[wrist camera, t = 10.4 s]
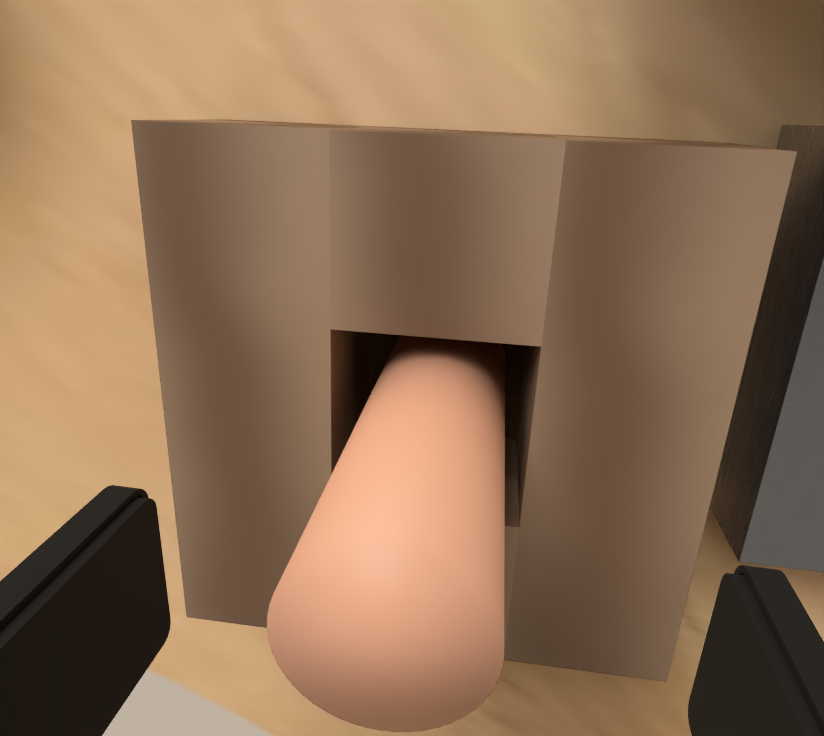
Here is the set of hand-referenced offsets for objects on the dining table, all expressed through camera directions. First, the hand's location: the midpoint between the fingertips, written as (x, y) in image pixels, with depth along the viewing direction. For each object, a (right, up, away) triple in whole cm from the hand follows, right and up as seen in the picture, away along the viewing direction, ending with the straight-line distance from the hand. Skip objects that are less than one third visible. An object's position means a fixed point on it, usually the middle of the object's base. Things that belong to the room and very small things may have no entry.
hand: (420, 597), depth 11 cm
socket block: (+1, +4, +10) cm, 11 cm away
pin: (+1, +4, +10) cm, 11 cm away
